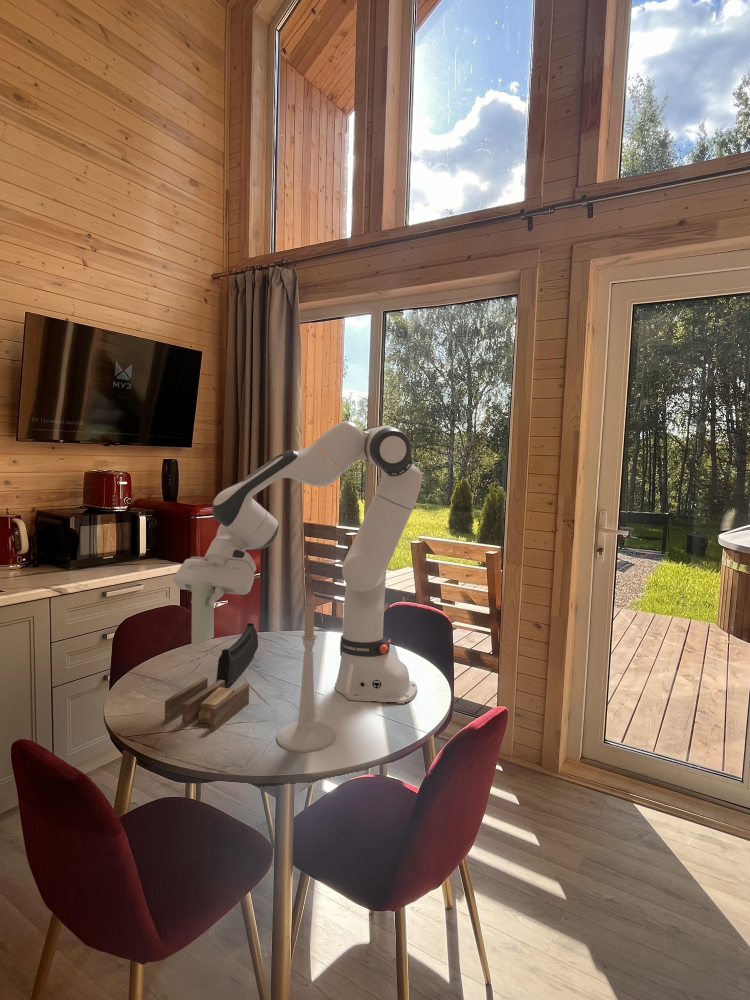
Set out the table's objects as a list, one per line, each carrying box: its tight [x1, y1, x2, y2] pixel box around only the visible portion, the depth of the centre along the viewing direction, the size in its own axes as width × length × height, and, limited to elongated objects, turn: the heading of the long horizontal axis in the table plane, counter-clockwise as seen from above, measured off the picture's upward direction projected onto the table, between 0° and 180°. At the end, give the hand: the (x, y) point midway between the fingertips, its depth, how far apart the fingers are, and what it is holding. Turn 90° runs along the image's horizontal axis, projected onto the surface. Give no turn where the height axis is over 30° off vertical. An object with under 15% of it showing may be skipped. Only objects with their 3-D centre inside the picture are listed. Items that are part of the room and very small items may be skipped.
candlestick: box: [276, 605, 336, 753], centre depth 127 cm, size 13×13×30 cm
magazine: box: [215, 622, 259, 688], centre depth 166 cm, size 17×3×30 cm
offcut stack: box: [199, 687, 235, 724], centre depth 138 cm, size 4×11×4 cm, turn 171°
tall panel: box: [191, 582, 215, 645], centre depth 140 cm, size 2×6×14 cm, turn 165°
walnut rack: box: [164, 676, 250, 732], centre depth 138 cm, size 13×16×5 cm
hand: (201, 604), depth 139 cm, fingers closed on tall panel, 2 cm apart
